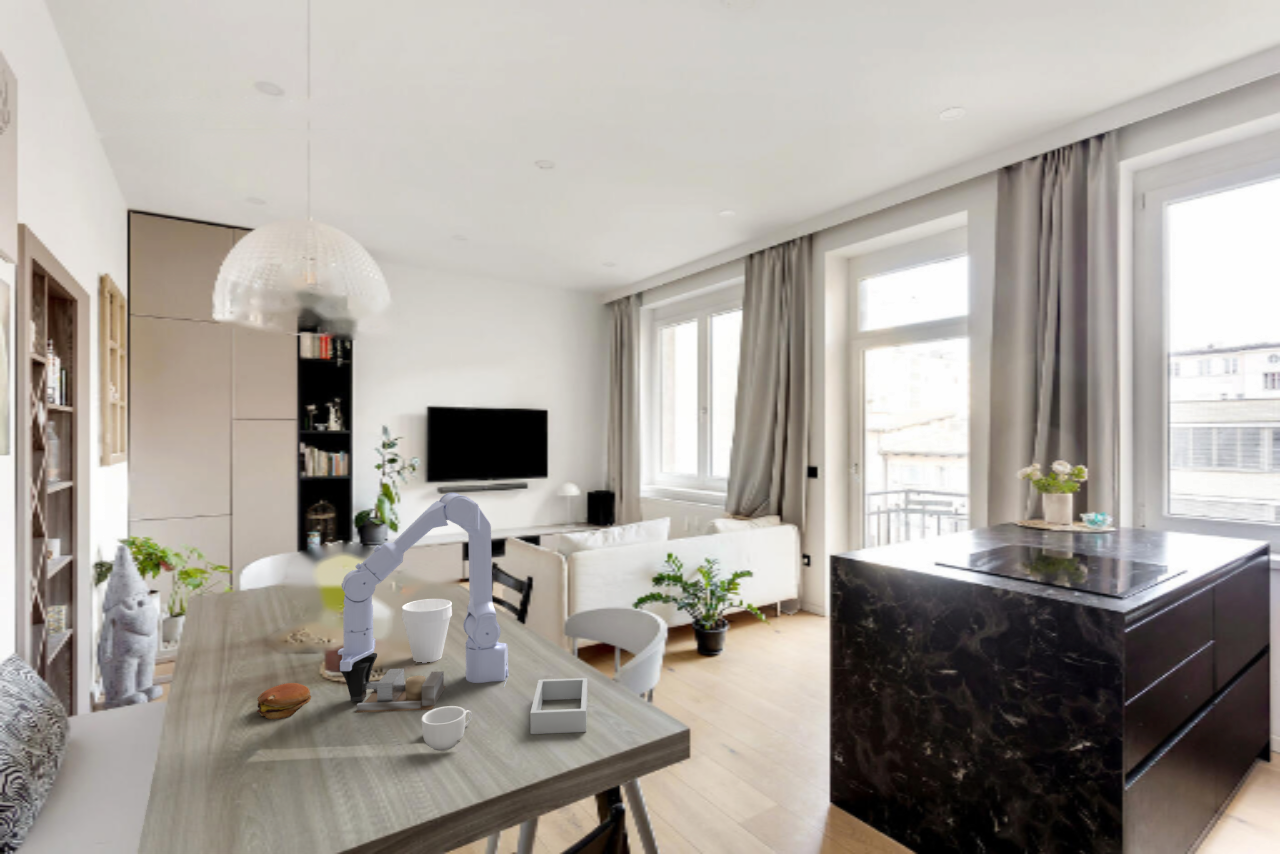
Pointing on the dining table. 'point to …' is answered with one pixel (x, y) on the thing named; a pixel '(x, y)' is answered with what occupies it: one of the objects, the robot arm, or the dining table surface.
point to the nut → (414, 688)
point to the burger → (283, 700)
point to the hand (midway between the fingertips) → (358, 693)
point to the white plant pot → (427, 627)
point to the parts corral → (564, 717)
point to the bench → (429, 697)
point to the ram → (385, 686)
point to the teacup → (444, 726)
